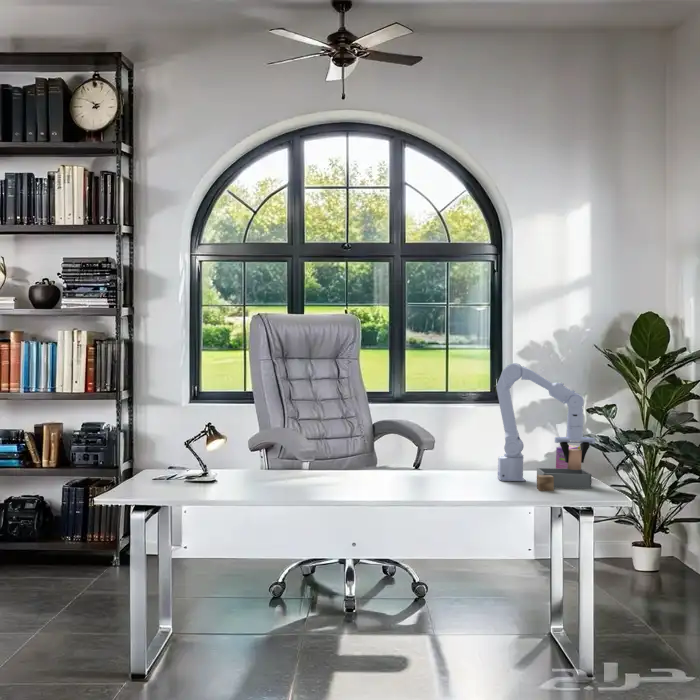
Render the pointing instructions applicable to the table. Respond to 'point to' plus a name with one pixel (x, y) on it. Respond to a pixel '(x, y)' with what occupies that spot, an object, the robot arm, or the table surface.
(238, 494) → the table surface
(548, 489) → the walnut cube
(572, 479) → the tote
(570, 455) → the terracotta cylinder
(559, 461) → the box
